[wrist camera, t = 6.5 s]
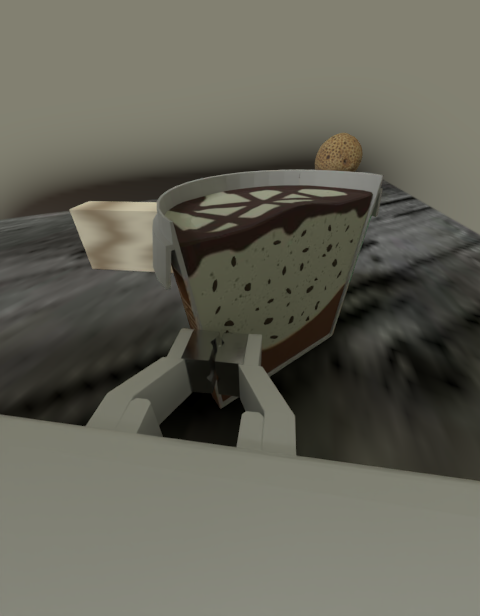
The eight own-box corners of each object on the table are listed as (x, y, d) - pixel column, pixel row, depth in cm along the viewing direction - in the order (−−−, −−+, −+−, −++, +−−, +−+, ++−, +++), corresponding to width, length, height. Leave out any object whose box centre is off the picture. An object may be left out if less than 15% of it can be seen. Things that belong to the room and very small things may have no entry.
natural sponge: (345, 195, 51) (358, 134, 45) (304, 189, 56) (310, 133, 50) (359, 187, 57) (372, 132, 51) (321, 182, 61) (329, 131, 55)
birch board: (92, 268, 27) (69, 209, 24) (108, 256, 30) (89, 201, 26) (285, 279, 25) (292, 214, 21) (285, 264, 27) (291, 204, 23)
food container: (284, 291, 23) (297, 162, 17) (345, 327, 19) (389, 173, 13) (149, 354, 17) (98, 189, 11) (195, 425, 13) (152, 225, 7)
